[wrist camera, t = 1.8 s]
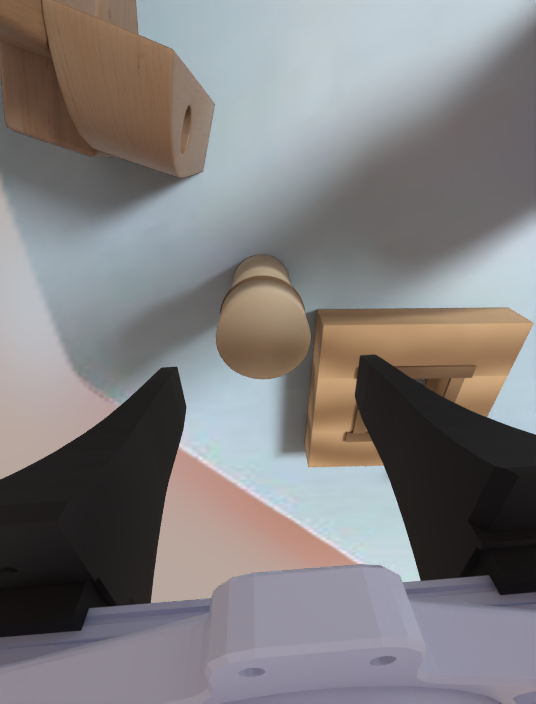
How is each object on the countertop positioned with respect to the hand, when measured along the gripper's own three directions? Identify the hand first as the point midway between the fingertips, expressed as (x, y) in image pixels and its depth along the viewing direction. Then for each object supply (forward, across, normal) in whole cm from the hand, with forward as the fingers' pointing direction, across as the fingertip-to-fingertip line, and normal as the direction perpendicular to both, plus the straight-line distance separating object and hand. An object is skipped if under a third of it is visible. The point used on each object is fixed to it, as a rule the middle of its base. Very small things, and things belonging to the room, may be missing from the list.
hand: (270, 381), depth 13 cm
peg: (+11, 0, 0) cm, 11 cm away
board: (+10, -11, +9) cm, 17 cm away
